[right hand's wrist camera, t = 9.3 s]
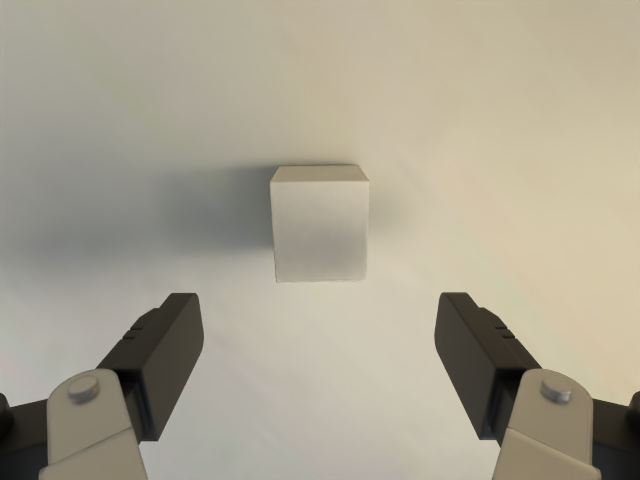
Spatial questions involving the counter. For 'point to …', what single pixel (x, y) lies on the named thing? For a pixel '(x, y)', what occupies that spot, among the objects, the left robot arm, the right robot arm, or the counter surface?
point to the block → (320, 223)
